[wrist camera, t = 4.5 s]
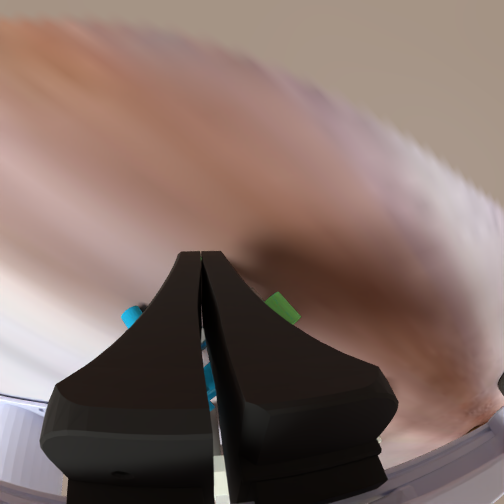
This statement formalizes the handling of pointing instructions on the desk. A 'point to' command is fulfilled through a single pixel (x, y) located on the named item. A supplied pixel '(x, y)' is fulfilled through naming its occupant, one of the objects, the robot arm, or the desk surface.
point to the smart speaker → (501, 384)
